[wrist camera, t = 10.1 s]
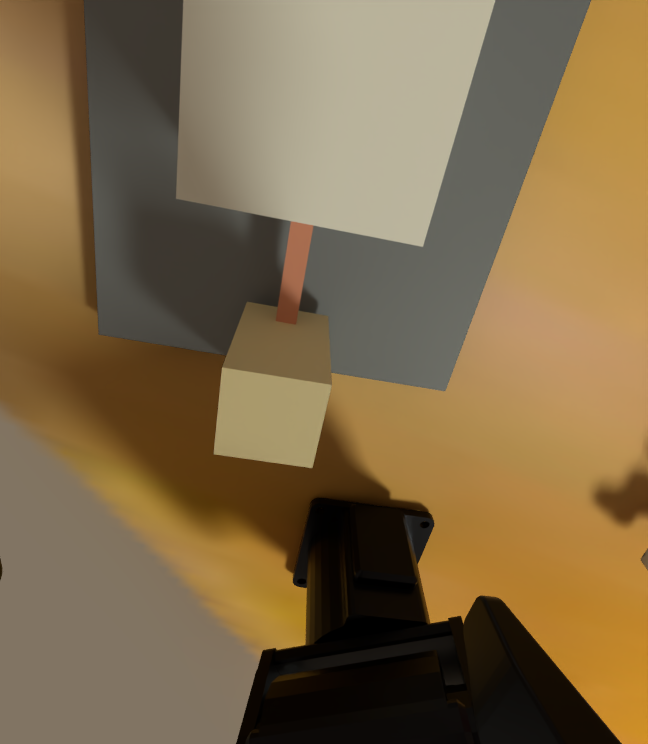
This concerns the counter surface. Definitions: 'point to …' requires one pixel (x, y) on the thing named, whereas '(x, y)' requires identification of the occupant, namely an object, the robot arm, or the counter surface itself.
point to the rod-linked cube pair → (315, 165)
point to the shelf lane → (328, 246)
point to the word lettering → (645, 559)
